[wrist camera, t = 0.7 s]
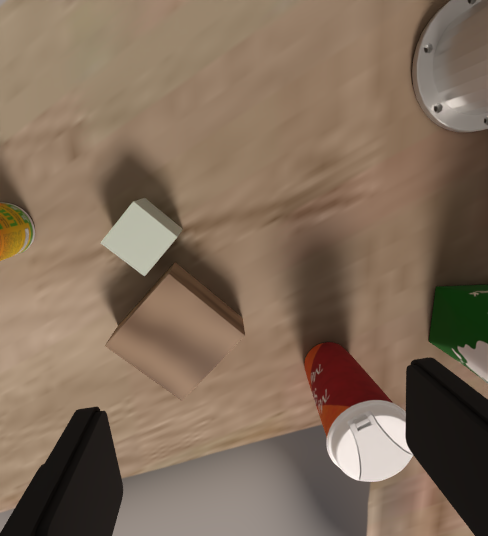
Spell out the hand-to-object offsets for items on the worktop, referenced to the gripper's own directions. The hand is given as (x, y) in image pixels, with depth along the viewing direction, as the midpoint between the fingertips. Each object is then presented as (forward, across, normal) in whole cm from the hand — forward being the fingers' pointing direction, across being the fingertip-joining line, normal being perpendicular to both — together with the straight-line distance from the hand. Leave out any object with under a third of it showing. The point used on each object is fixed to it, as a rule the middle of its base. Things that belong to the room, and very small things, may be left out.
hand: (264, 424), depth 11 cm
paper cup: (+28, -11, +15) cm, 34 cm away
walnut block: (+29, +6, +8) cm, 30 cm away
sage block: (+28, +8, -3) cm, 30 cm away
